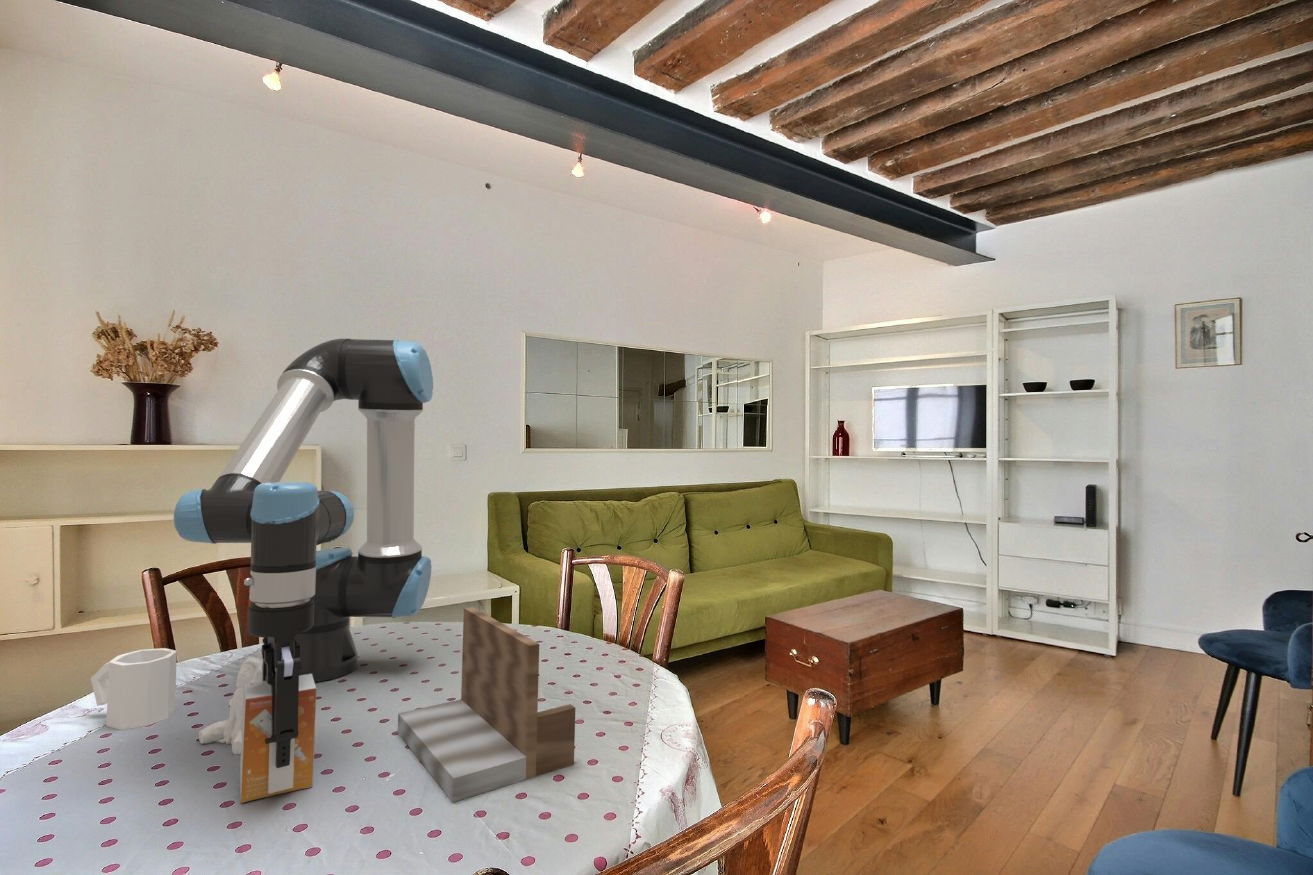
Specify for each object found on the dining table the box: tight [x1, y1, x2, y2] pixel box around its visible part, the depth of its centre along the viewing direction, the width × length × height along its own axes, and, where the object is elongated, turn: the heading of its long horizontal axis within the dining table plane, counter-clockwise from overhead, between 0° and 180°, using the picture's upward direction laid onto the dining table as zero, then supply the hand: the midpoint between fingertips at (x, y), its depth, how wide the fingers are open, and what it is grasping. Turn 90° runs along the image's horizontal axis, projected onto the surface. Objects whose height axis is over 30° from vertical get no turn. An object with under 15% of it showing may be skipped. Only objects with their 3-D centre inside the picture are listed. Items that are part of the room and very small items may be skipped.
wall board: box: [397, 606, 576, 803], centre depth 97 cm, size 24×18×18 cm
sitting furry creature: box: [198, 656, 263, 756], centre depth 98 cm, size 10×9×12 cm
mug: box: [90, 647, 178, 731], centre depth 104 cm, size 12×9×10 cm
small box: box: [239, 674, 317, 804], centre depth 85 cm, size 8×6×13 cm
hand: (276, 777), depth 85 cm, fingers closed on small box, 6 cm apart
